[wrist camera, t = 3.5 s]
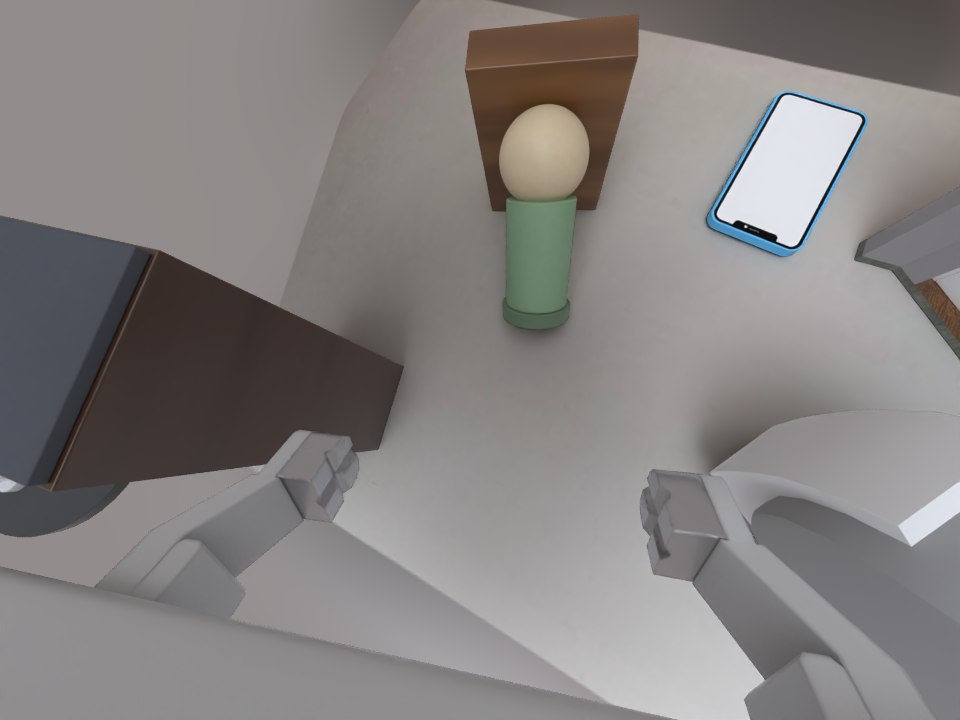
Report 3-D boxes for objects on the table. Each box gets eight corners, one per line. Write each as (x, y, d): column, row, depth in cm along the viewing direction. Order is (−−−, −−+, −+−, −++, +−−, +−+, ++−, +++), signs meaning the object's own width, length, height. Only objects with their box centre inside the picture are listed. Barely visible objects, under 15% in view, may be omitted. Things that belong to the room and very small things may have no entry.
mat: (-107, 417, 12) (-135, 416, 11) (-3, 219, 13) (-24, 211, 12) (48, 485, 10) (24, 487, 10) (152, 253, 11) (135, 245, 11)
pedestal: (303, 426, 33) (-115, 421, 12) (331, 347, 34) (-4, 214, 13) (378, 449, 31) (50, 493, 10) (404, 366, 33) (159, 249, 11)
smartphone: (872, 114, 30) (798, 255, 28) (859, 126, 31) (788, 262, 29) (781, 88, 31) (707, 218, 30) (772, 100, 33) (700, 226, 31)
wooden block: (595, 209, 33) (638, 55, 19) (492, 211, 34) (464, 69, 21) (596, 182, 33) (639, 12, 20) (494, 184, 35) (469, 30, 21)
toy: (567, 344, 31) (591, 278, 18) (500, 340, 32) (478, 276, 19) (573, 213, 33) (598, 75, 21) (511, 213, 34) (498, 82, 22)
